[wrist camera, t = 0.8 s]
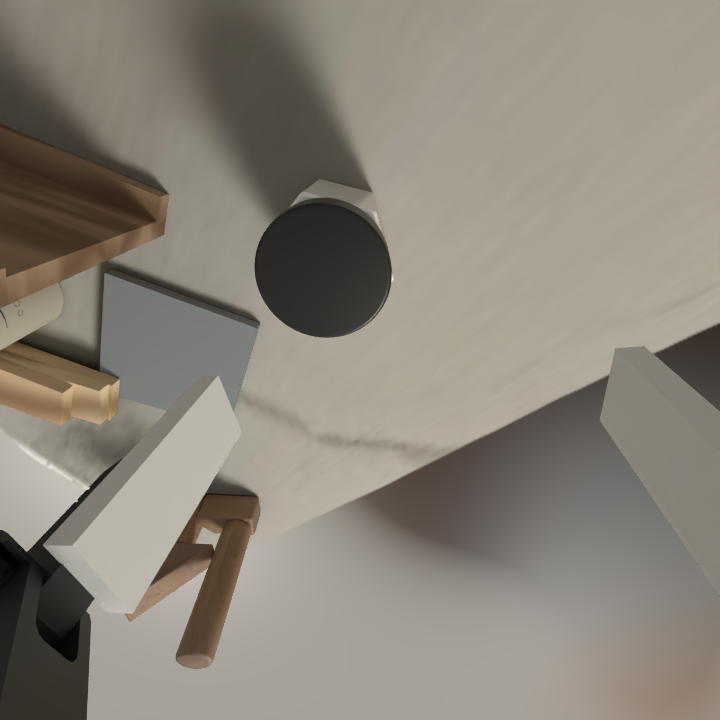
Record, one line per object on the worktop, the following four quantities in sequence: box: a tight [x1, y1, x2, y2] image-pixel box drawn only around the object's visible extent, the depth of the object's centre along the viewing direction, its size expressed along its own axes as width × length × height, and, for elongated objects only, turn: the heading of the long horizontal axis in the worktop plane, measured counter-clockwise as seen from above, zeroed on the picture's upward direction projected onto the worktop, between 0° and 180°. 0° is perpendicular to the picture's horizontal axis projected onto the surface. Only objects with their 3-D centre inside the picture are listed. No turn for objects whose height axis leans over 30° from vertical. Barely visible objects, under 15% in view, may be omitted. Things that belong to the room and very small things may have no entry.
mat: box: [100, 269, 260, 412], centre depth 37 cm, size 14×14×1 cm
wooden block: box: [125, 494, 260, 669], centre depth 42 cm, size 4×11×18 cm, turn 87°
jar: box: [255, 179, 394, 338], centre depth 26 cm, size 9×8×12 cm
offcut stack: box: [0, 342, 120, 426], centre depth 36 cm, size 6×20×4 cm, turn 68°
